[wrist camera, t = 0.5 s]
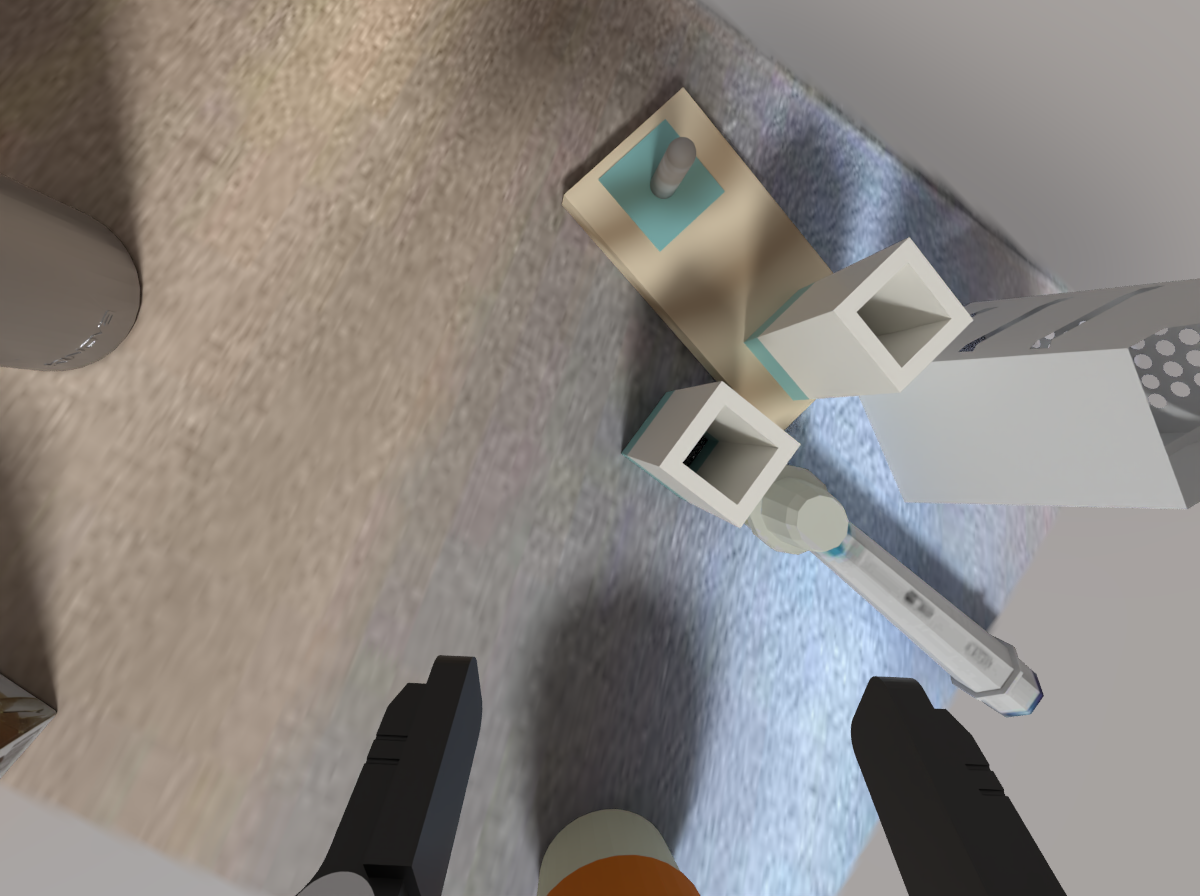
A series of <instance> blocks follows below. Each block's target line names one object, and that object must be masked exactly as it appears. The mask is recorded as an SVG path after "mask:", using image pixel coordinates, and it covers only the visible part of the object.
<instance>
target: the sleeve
mask: <svg viewBox="0 0 1200 896" xmlns="http://www.w3.org/2000/svg"><path fill="white" fill-rule="evenodd" d="M702 436H704V437H705V438H706V439H707V440H708V441H707V443H706V444H705V445H704V447H703V448H702V450H701V451H700V452H699V454H698V455H697V456H696V458H695V459H694V461H693V462H692V463H691V465H690V466H689V467H687V466H686V465H684V464H683V462H684V460H685V459H686V457H687V456H688V455H689V453H690V452H691V451H692V449H693V448H694V447H695V445H696V444H697V442H698V441H699V440H700V438H701V437H702ZM800 445H801V444H800V443H799V442H797V441H796V440H795V439H794V438H792V437H791V436H790V435H789V434H787V433H786V432H785V431H784V430H782V429H781V428H780V427H779V426H777V425H776V424H775V423H774V422H772V421H771V420H770V419H769V418H767V417H766V416H765V415H764V414H763V413H761V412H760V411H759V410H758V409H756V408H755V407H754V406H753V405H751V404H750V403H749V402H748V401H746V400H745V399H744V398H743V397H741V396H740V395H739V394H738V393H736V392H735V391H734V390H733V389H731V388H730V387H729V386H728V385H726V384H725V383H724V382H723V381H719V382H714V383H709V384H704V385H699V386H694V387H689V388H684V389H679V390H674V391H669V392H666V393H665V395H664V396H663V397H662V399H661V400H660V402H659V403H658V404H657V406H656V407H655V408H654V410H653V411H652V412H651V414H650V415H649V416H648V418H647V419H646V420H645V422H644V423H643V425H642V426H641V427H640V429H639V430H638V431H637V433H636V434H635V435H634V437H633V438H632V439H631V441H630V442H629V443H628V445H627V446H626V448H625V449H624V450H623V452H622V453H621V454H622V455H624V456H625V457H626V458H628V459H629V460H630V461H632V462H633V463H634V464H636V465H637V466H638V467H640V468H641V469H642V470H644V471H645V472H646V473H648V474H649V475H650V476H652V477H653V478H654V479H656V480H657V481H658V482H660V483H661V484H662V485H664V486H665V487H666V488H668V489H669V490H670V491H672V492H673V493H674V494H676V495H677V496H678V497H680V498H681V499H683V500H685V501H687V502H689V503H691V504H693V505H695V506H697V507H699V508H701V509H703V510H705V511H707V512H709V513H711V514H713V515H715V516H717V517H719V518H721V519H723V520H725V521H727V522H729V523H731V524H733V525H735V526H737V527H739V528H741V527H742V525H743V524H744V522H745V521H746V520H747V518H748V517H749V515H750V514H751V513H752V511H753V510H754V509H755V507H756V506H757V504H758V503H759V502H760V500H761V499H762V497H763V496H764V495H765V493H766V492H767V491H768V489H769V488H770V486H771V485H772V484H773V482H774V481H775V479H776V478H777V477H778V475H779V474H780V473H781V471H782V470H783V468H784V467H785V466H786V464H787V463H788V461H789V460H790V459H791V457H792V456H793V455H794V453H795V452H796V450H797V449H798V448H799V446H800Z"/></svg>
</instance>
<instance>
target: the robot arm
mask: <svg viewBox="0 0 1200 896" xmlns="http://www.w3.org/2000/svg"><path fill="white" fill-rule="evenodd" d="M139 301H140V286H139V280H138V275H137V271H136V268H135V266H134V264H133V261H132V259H131V256H130V254H129V253H128V251H127V250H126V249H125V247H124V246H123V244H122V243H121V241H120V240H119V239H118V238H117V237H116V236H115V235H114V234H113V233H112V232H111V231H110V230H109V229H108V228H107V227H106V226H104V225H103V224H101V223H100V222H98V221H97V220H95V219H93V218H92V217H90V216H89V215H87V214H85V213H83V212H80V211H78V210H76V209H74V208H72V207H70V206H68V205H66V204H63V203H61V202H59V201H57V200H55V199H53V198H51V197H48V196H46V195H44V194H42V193H40V192H38V191H36V190H34V189H31V188H29V187H27V186H25V185H23V184H21V183H19V182H17V181H15V180H13V179H11V178H9V177H7V176H4V175H2V174H0V367H9V368H19V369H29V370H39V371H66V370H71V369H76V368H82V367H84V366H87V365H89V364H92V363H94V362H96V361H99V360H101V359H102V358H103V357H105V356H106V355H108V354H109V353H111V352H112V351H114V350H115V349H116V348H117V347H118V345H119V344H120V343H121V342H122V341H123V340H124V339H125V338H126V337H127V335H128V333H129V331H130V330H131V328H132V326H133V324H134V322H135V319H136V316H137V312H138V309H139ZM481 719H482V697H481V690H480V682H479V674H478V667H477V660H476V658H475V657H466V656H444V655H439V656H438V657H437V658H436V660H435V662H434V664H433V667H432V670H431V672H430V675H429V678H428V681H427V684H420V683H407V685H406V686H405V687H404V688H403V689H402V690H401V692H400V693H399V694H398V695H397V696H396V697H395V699H394V700H393V701H392V702H391V703H390V704H389V706H388V707H387V710H386V712H385V714H384V717H383V719H382V722H381V724H380V727H379V729H378V732H377V734H376V739H375V740H374V741H373V744H372V746H371V749H370V751H369V754H368V756H367V761H366V764H365V763H364V766H363V768H362V771H361V773H360V776H359V778H358V780H357V783H356V785H355V788H354V790H353V793H352V795H351V798H350V800H349V802H348V805H347V807H346V810H345V812H344V815H343V817H342V820H341V822H340V824H339V827H338V829H337V832H336V834H335V837H334V839H333V842H332V844H331V846H330V849H329V851H328V854H327V856H326V858H325V860H324V862H323V863H322V865H321V867H320V868H319V870H318V872H317V873H316V874H315V876H314V877H313V878H312V879H311V881H310V882H309V883H308V884H307V885H306V886H305V887H304V888H303V889H302V890H301V891H300V892H299V893H298V894H297V895H296V896H441V894H442V890H443V885H444V881H445V877H446V873H447V868H448V864H449V860H450V856H451V851H452V847H453V843H454V839H455V835H456V830H457V826H458V822H459V818H460V813H461V809H462V805H463V801H464V796H465V792H466V788H467V784H468V779H469V775H470V771H471V767H472V763H473V758H474V754H475V750H476V746H477V741H478V737H479V732H480V727H481ZM851 740H852V745H853V750H854V753H855V756H856V759H857V761H858V764H859V766H860V769H861V772H862V774H863V777H864V779H865V782H866V785H867V787H868V790H869V792H870V795H871V798H872V800H873V803H874V806H875V808H876V811H877V813H878V816H879V819H880V821H881V824H882V826H883V829H884V831H885V834H886V837H887V839H888V842H889V844H890V847H891V850H892V852H893V855H894V858H895V860H896V863H897V865H898V868H899V871H900V873H901V876H902V879H903V881H904V884H905V886H906V889H907V892H908V894H909V896H1067V895H1066V893H1065V892H1064V890H1063V888H1062V887H1061V885H1060V883H1059V882H1058V880H1057V878H1056V877H1055V875H1054V873H1053V871H1052V870H1051V868H1050V867H1049V865H1048V863H1047V861H1046V860H1045V858H1044V856H1043V855H1042V853H1041V851H1040V850H1039V848H1038V846H1037V844H1036V843H1035V841H1034V839H1033V838H1032V836H1031V834H1030V833H1029V831H1028V829H1027V828H1026V826H1025V824H1024V823H1023V821H1022V819H1021V817H1020V816H1019V814H1018V812H1017V811H1016V809H1015V807H1014V806H1013V804H1012V802H1011V801H1010V799H1009V797H1008V796H1005V794H1004V789H1003V787H1002V786H1001V784H1000V782H999V780H998V779H997V777H996V775H995V774H994V772H993V771H991V770H990V768H989V763H988V762H987V760H986V758H985V757H984V755H983V753H982V752H981V750H980V748H979V747H978V745H977V743H976V742H975V740H974V738H973V737H972V735H971V734H970V733H969V732H968V731H967V730H966V729H965V728H964V727H963V726H962V725H961V724H960V723H959V722H958V721H957V720H956V719H955V718H954V717H953V716H952V715H951V714H950V713H949V712H948V711H947V710H946V709H934V707H933V706H932V704H931V702H930V700H929V698H928V697H927V695H926V693H925V691H924V689H923V688H922V686H921V685H920V684H919V682H917V681H916V680H915V679H913V678H899V677H877V676H875V677H872V678H871V679H870V680H869V682H868V685H867V687H866V689H865V692H864V694H863V696H862V699H861V701H860V703H859V706H858V708H857V710H856V713H855V715H854V717H853V720H852V724H851Z"/></svg>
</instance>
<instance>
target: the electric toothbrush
mask: <svg viewBox="0 0 1200 896" xmlns="http://www.w3.org/2000/svg"><path fill="white" fill-rule="evenodd" d="M744 524H745V525H747V526H748V527H749V528H750V529H751V530H752V532H753V534H754V535H755V536H757V537H758V538H759V539H760V540H762V541H763V542H764V543H765V544H767V545H768V546H769V547H770V548H772V549H774V550H775V551H778V552H784V553H791V554H797V555H799V554H801V553H804V552H806V551H811V552H812V553H813V554H814V555H815V556H816V557H817V558H818V559H820V560H821V561H822V562H823V563H824V564H825V565H826V566H828V567H829V568H830V569H831V570H832V571H833V572H834V573H835V574H837V575H838V576H839V577H840V578H841V579H842V580H843V581H845V582H846V583H847V584H848V585H849V586H850V587H851V588H852V589H854V590H855V591H856V592H857V593H858V594H859V595H860V596H861V597H863V598H864V599H865V600H866V601H867V602H868V603H869V604H871V605H872V606H873V607H874V608H875V609H876V610H877V611H878V612H880V613H881V614H882V615H883V616H884V617H885V618H886V619H888V620H889V621H890V622H891V623H892V624H893V625H894V626H895V627H897V628H898V629H899V630H900V631H901V632H902V633H903V634H905V635H906V636H907V637H908V638H909V639H910V640H911V641H912V642H914V643H915V644H916V645H917V646H918V647H919V648H920V649H922V650H923V651H924V652H925V653H926V654H927V655H928V656H929V657H931V658H932V659H933V660H934V661H935V662H936V663H937V664H938V665H940V666H941V667H942V668H943V669H944V670H945V671H946V672H948V673H949V674H950V676H951V681H952V684H954V685H955V686H957V687H958V688H960V689H961V690H963V691H964V692H966V693H968V694H969V695H971V696H972V697H974V698H976V699H977V700H981V701H982V702H983V703H985V704H986V705H987V706H989V707H991V708H992V709H994V710H995V711H997V712H998V713H1000V714H1002V715H1003V716H1005V717H1012V716H1021V715H1029V714H1031V713H1032V712H1033V710H1034V709H1035V708H1036V706H1037V705H1038V703H1039V702H1040V700H1041V699H1042V697H1043V696H1044V695H1043V692H1042V689H1041V686H1040V683H1039V680H1038V677H1037V674H1036V673H1034V672H1033V671H1032V670H1031V669H1030V668H1029V667H1028V666H1027V665H1025V664H1024V663H1023V662H1022V661H1021V660H1020V659H1019V658H1018V655H1017V652H1016V649H1015V647H1013V646H1012V645H1010V644H1008V643H1006V642H1004V641H1002V640H1000V639H998V638H996V637H994V636H992V635H990V634H989V633H988V632H986V631H985V630H984V629H983V628H981V627H980V626H979V625H978V624H976V623H975V622H974V621H973V620H972V619H970V618H969V617H968V616H967V615H965V614H964V613H963V612H962V611H960V610H959V609H958V608H957V607H955V606H954V605H953V604H952V603H950V602H949V601H948V600H947V599H945V598H944V597H943V596H942V595H940V594H939V593H938V592H937V591H935V590H934V589H933V588H932V587H930V586H929V585H928V584H927V583H925V582H924V581H923V580H922V579H921V578H919V577H918V576H917V575H916V574H914V573H913V572H912V571H911V570H909V569H908V568H907V567H906V566H904V565H903V564H902V563H901V562H899V561H898V560H897V559H896V558H894V557H893V556H892V555H891V554H889V553H888V552H887V551H886V550H884V549H883V548H882V547H881V546H879V545H878V544H877V543H876V542H875V541H873V540H872V539H871V538H870V537H868V536H867V535H866V534H865V533H863V532H862V531H861V530H860V529H858V528H857V527H856V526H855V525H853V524H852V523H851V522H850V521H848V518H847V515H846V513H845V510H844V507H843V506H842V505H841V503H840V502H839V501H838V500H837V499H836V498H834V497H833V496H832V495H831V494H830V493H829V492H828V491H827V488H826V485H825V484H824V483H822V482H821V481H820V480H819V479H818V478H817V477H816V476H815V475H814V474H812V473H811V472H810V471H809V470H807V469H804V468H800V467H795V466H790V465H786V466H785V467H784V468H783V470H782V471H781V473H780V474H779V475H778V477H777V478H776V479H775V481H774V482H773V484H772V485H771V486H770V488H769V489H768V491H767V492H766V493H765V495H764V496H763V497H762V499H761V500H760V502H759V503H758V504H757V506H756V507H755V509H754V510H753V511H752V513H751V514H750V515H749V517H748V518H747V520H746V521H745V522H744Z"/></svg>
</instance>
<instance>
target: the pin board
mask: <svg viewBox="0 0 1200 896" xmlns="http://www.w3.org/2000/svg"><path fill="white" fill-rule="evenodd" d="M562 205H563V206H564V208H565V209H566V210H567V211H568V212H569V213H570V215H571V216H572V217H573V218H574V219H575V220H576V221H577V223H578V224H579V225H580V226H581V227H582V228H583V229H584V231H585V232H586V233H587V234H588V235H589V236H590V237H591V239H592V240H593V241H594V242H595V243H596V244H597V245H598V247H599V248H600V249H601V250H602V251H603V252H604V253H605V255H606V256H607V257H608V258H609V259H610V260H611V261H612V263H613V264H614V265H615V266H616V267H617V268H618V269H619V271H620V272H621V273H622V274H623V275H624V276H625V277H626V279H627V280H628V281H629V282H630V283H631V284H632V285H633V287H634V288H635V289H636V290H637V291H638V292H639V293H640V295H641V296H642V297H643V298H644V299H645V300H646V301H647V303H648V304H649V305H650V306H651V307H652V308H653V309H654V311H655V312H656V313H657V314H658V315H659V316H660V317H661V319H662V320H663V321H664V322H665V323H666V324H667V325H668V327H669V328H670V329H671V330H672V331H673V332H674V333H675V335H676V336H677V337H678V338H679V339H680V340H681V341H682V343H683V344H684V345H685V346H686V347H687V348H688V349H689V351H690V352H691V353H692V354H693V355H694V356H695V357H696V359H697V360H698V361H699V362H700V363H701V364H702V365H703V367H704V368H705V369H706V370H707V371H708V372H709V373H710V375H711V376H712V377H713V378H714V379H715V380H716V381H717V382H719V381H723V382H724V383H725V384H726V385H728V386H729V387H730V388H731V389H733V390H734V391H735V392H736V393H738V394H739V395H740V396H741V397H743V398H744V399H745V400H746V401H748V402H749V403H750V404H751V405H753V406H754V407H755V408H756V409H758V410H759V411H760V412H761V413H763V414H764V415H765V416H766V417H767V418H769V419H770V420H771V421H772V422H774V423H775V424H776V425H777V426H779V427H780V428H781V429H782V430H785V429H786V428H787V427H788V426H789V425H790V424H791V423H792V422H793V421H794V420H795V419H796V418H797V417H798V416H799V415H800V414H801V413H802V412H803V411H804V410H805V409H806V408H807V407H808V406H809V405H810V404H811V403H813V402H814V401H815V400H816V399H807V400H794V401H793V400H792V399H791V397H790V396H789V395H788V394H787V393H786V392H785V390H784V389H783V388H782V387H781V386H780V384H779V383H778V382H777V381H776V380H775V379H774V377H773V376H772V375H771V374H770V373H769V372H768V370H767V369H766V368H765V367H764V366H763V365H762V363H761V362H760V361H759V360H758V359H757V358H756V356H755V355H754V354H753V353H752V352H751V351H750V349H749V348H748V347H747V346H746V345H745V344H744V342H745V341H746V340H747V339H748V338H749V337H750V336H751V335H752V334H753V333H754V332H755V331H756V330H757V329H758V328H759V327H760V326H762V325H763V324H764V323H765V322H766V321H767V320H768V319H769V318H770V317H771V316H772V315H773V314H774V313H775V312H776V311H777V310H778V309H779V308H780V307H781V306H782V305H783V304H785V303H786V302H787V301H788V300H789V299H790V298H791V297H792V296H793V295H794V294H795V293H796V292H797V291H798V290H800V289H802V288H804V287H806V286H808V285H810V284H812V283H814V282H816V281H818V280H821V279H823V278H825V277H827V276H829V275H831V274H833V272H832V271H831V270H830V268H829V267H828V266H827V265H826V263H825V262H824V261H823V260H822V259H821V257H820V256H819V255H818V254H817V252H816V251H815V250H814V249H813V247H812V246H811V245H810V244H809V242H808V241H807V240H806V239H805V237H804V236H803V235H802V234H801V232H800V231H799V230H798V229H797V228H796V226H795V225H794V224H793V223H792V221H791V220H790V219H789V218H788V216H787V215H786V214H785V213H784V211H783V210H782V209H781V208H780V206H779V205H778V204H777V203H776V202H775V200H774V199H773V198H772V197H771V195H770V194H769V193H768V192H767V190H766V189H765V188H764V187H763V185H762V184H761V183H760V182H759V180H758V179H757V178H756V177H755V175H754V174H753V173H752V172H751V171H750V169H749V168H748V167H747V166H746V164H745V163H744V162H743V161H742V159H741V158H740V157H739V156H738V154H737V153H736V152H735V151H734V149H733V148H732V147H731V146H730V145H729V143H728V142H727V141H726V140H725V138H724V137H723V136H722V135H721V133H720V132H719V131H718V130H717V128H716V127H715V126H714V125H713V123H712V122H711V121H710V120H709V118H708V117H707V116H706V115H705V114H704V112H703V111H702V110H701V109H700V107H699V106H698V105H697V104H696V102H695V101H694V100H693V99H692V97H691V96H690V95H689V94H688V92H687V91H686V90H685V89H684V88H682V89H681V90H679V91H678V92H677V93H676V94H675V95H674V96H673V97H672V98H671V99H670V100H668V101H667V102H666V103H665V104H664V105H663V106H662V107H661V108H660V109H658V110H657V111H656V112H655V113H654V114H653V115H652V116H651V117H650V118H648V119H647V120H646V121H645V122H644V123H643V124H642V125H641V126H640V127H638V128H637V129H636V130H635V131H634V132H633V133H632V134H631V135H630V136H629V137H627V138H626V139H625V140H624V141H623V142H622V143H621V144H620V145H619V146H617V147H616V148H615V149H614V150H613V151H612V152H611V153H610V154H609V155H607V156H606V157H605V158H604V159H603V160H602V161H601V162H600V163H599V164H597V165H596V166H595V167H594V168H593V169H592V170H591V171H590V172H589V173H587V174H586V175H585V176H584V177H583V178H582V179H581V180H580V181H579V182H578V183H576V184H575V185H574V186H573V187H572V188H571V189H570V190H569V191H568V192H566V193H565V194H564V197H563V202H562Z"/></svg>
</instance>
